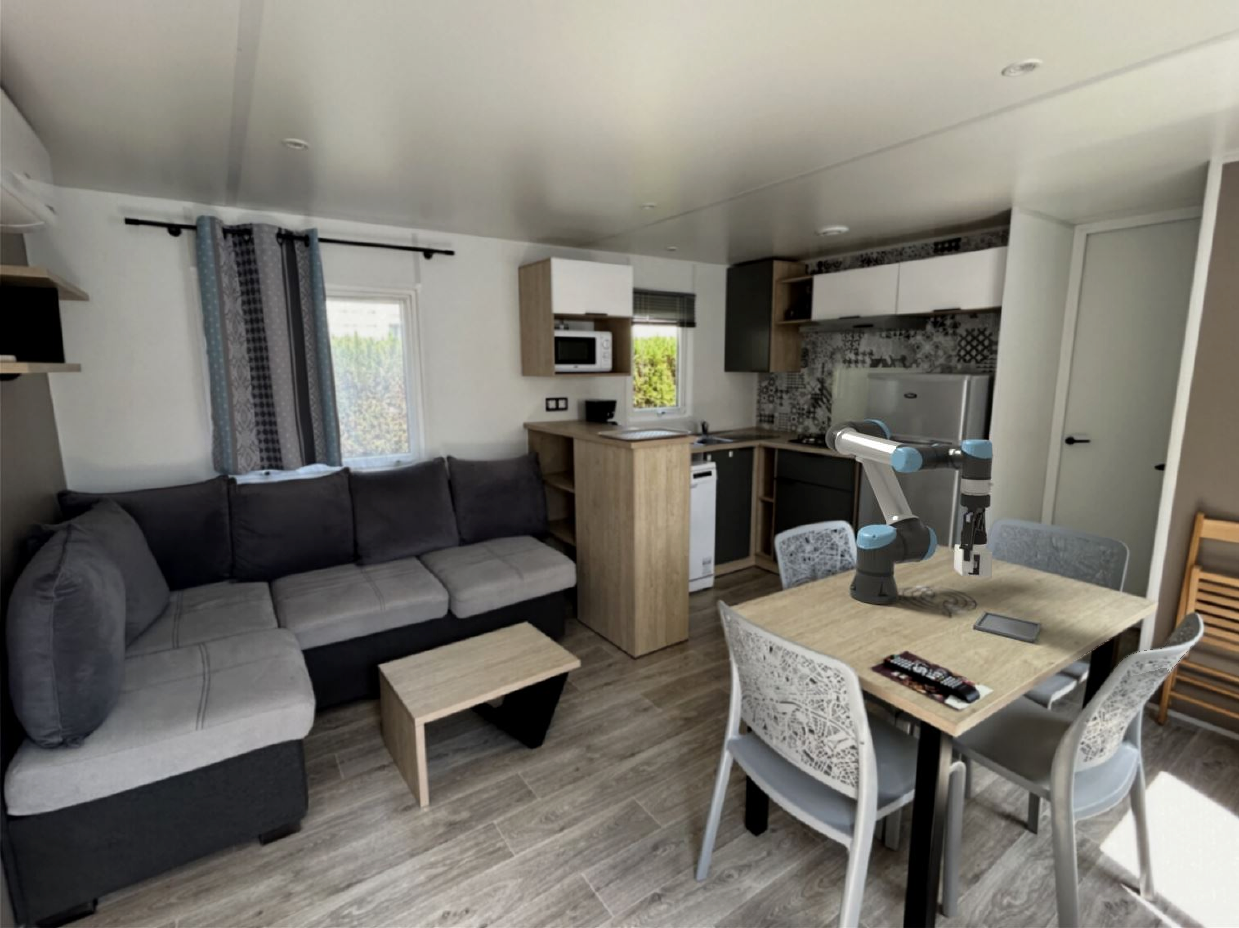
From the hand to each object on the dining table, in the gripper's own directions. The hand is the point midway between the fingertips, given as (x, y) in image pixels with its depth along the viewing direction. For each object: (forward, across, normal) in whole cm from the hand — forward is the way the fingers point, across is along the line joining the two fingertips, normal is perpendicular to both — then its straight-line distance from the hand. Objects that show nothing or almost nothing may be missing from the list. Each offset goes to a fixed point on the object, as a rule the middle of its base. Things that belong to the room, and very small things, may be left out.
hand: (972, 567), depth 172 cm
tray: (+17, +1, -9) cm, 19 cm away
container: (+2, 0, 0) cm, 2 cm away
